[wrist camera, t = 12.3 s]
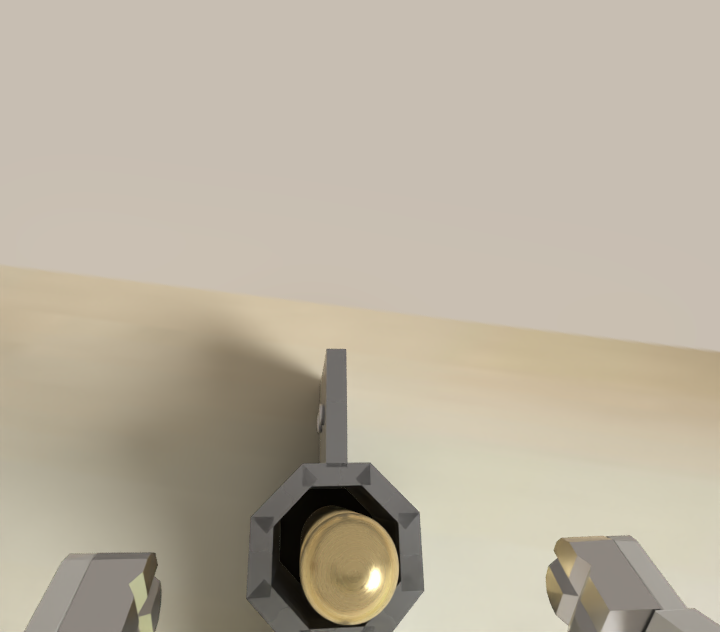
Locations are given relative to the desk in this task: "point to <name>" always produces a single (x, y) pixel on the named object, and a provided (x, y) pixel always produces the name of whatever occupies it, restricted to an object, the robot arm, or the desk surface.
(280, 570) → the octagonal sleeve with tab
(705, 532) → the desk surface
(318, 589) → the brass pin
